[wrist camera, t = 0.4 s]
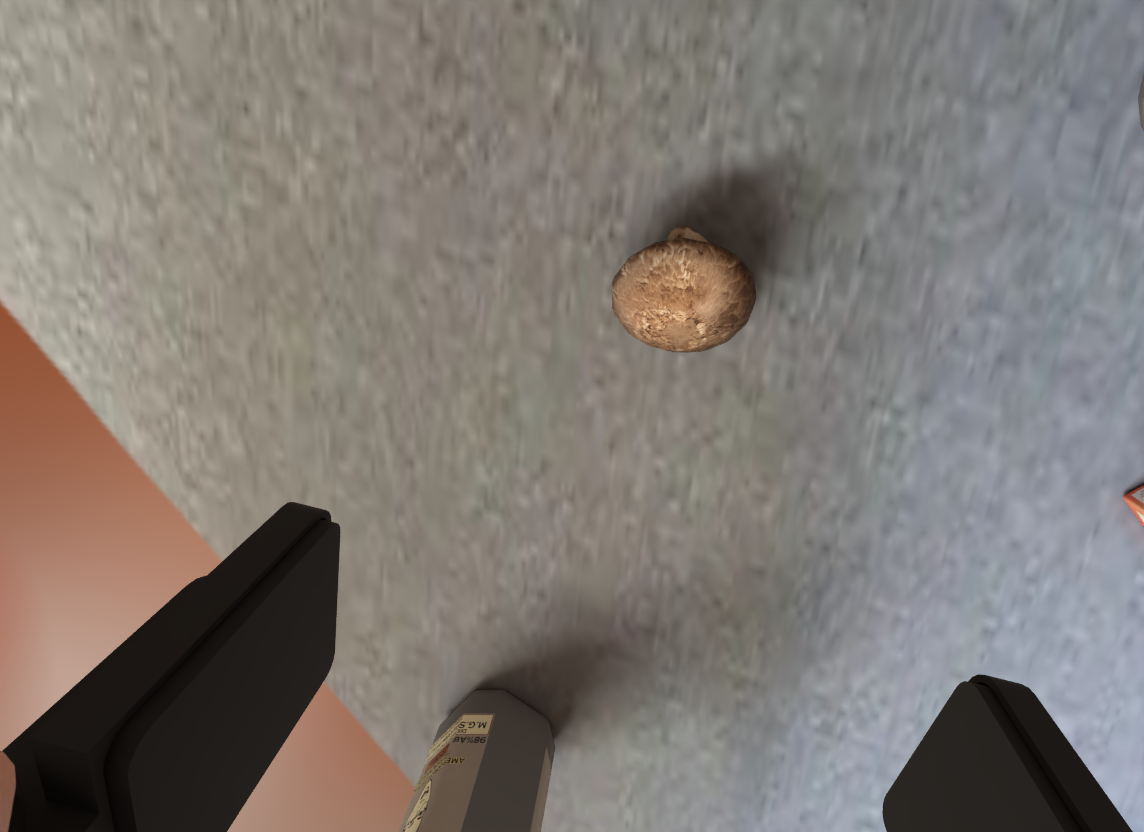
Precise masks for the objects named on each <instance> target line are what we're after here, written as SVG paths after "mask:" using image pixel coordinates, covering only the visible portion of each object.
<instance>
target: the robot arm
mask: <svg viewBox="0 0 1144 832" xmlns="http://www.w3.org/2000/svg"><path fill="white" fill-rule="evenodd" d="M339 549H340V526H339V524H337V523H334V522H331V515H330V513H329V512H328V511H326V510H323V509H319V508H315V507H311V506H307V505H303V504H299V503H295V502H289V503H287V504H285V505H284V506H283V507H281V508H280V509H279V510H278V511H277V512H276V513H275V514H274V515H273V516H272V517H271V518H269V519H268V520H267V521H266V522H265V523H264V524H263V525H262V526H261V527H260V528H259V529H257V530H256V531H255V532H254V533H253V534H252V535H251V536H250V537H249V538H248V539H247V540H245V541H244V542H243V543H242V544H241V545H240V546H239V547H238V548H237V549H236V550H234V551H233V552H232V553H231V554H230V555H229V556H228V557H227V558H226V559H225V560H224V561H222V562H221V563H220V564H219V565H218V566H217V567H216V568H215V569H214V570H213V571H212V572H210V573H209V574H208V575H207V576H204V577H200V578H197V579H195V580H194V581H193V582H191V583H190V584H188V585H187V586H186V587H185V588H184V589H182V590H181V591H180V592H179V593H178V594H177V595H176V596H174V597H173V598H172V599H171V600H170V601H169V602H168V603H167V604H166V605H165V606H163V607H162V608H161V609H160V610H159V611H158V612H157V613H156V614H154V615H153V616H152V617H151V618H150V619H149V620H148V621H147V622H146V623H144V624H143V625H142V626H141V627H140V628H139V629H138V630H137V631H136V632H134V633H133V634H132V635H131V636H130V637H129V638H128V639H127V640H126V641H124V642H123V643H122V644H121V645H120V646H119V647H118V648H117V649H115V650H114V651H113V652H112V653H111V654H110V655H109V656H108V657H107V658H106V659H104V660H103V661H102V662H101V663H100V664H99V665H98V666H96V667H95V668H94V669H93V670H92V671H91V672H90V673H89V674H88V675H86V676H85V677H84V678H83V679H82V680H81V681H80V682H79V683H78V684H76V685H75V686H74V687H73V688H72V689H71V690H70V691H69V692H68V693H66V694H65V695H64V696H63V697H62V698H61V699H60V700H59V701H57V702H56V703H55V704H54V705H53V706H52V707H51V708H50V709H49V710H48V711H46V712H45V713H44V714H43V715H42V716H41V717H40V718H39V719H37V720H36V721H35V722H34V723H33V724H32V725H31V726H30V727H29V728H28V729H26V730H25V731H24V732H23V733H22V734H21V735H20V736H18V737H17V738H16V739H15V740H14V741H13V742H12V743H11V744H10V745H9V746H7V747H6V748H5V749H4V750H3V751H0V832H227V831H228V829H229V827H230V826H231V824H232V823H233V821H234V820H235V818H236V817H237V815H238V814H239V812H240V810H241V809H242V807H243V806H244V804H245V803H246V801H247V799H248V798H249V796H250V795H251V793H252V792H253V790H254V789H255V787H256V785H257V784H258V782H259V781H260V779H261V778H262V776H263V775H264V773H265V772H266V770H267V768H268V767H269V765H270V764H271V762H272V761H273V759H274V757H275V756H276V754H277V753H278V751H279V750H280V748H281V747H282V745H283V744H284V742H285V740H286V739H287V737H288V736H289V734H290V733H291V731H292V730H293V728H294V727H295V725H296V723H297V722H298V720H299V719H300V717H301V716H302V714H303V712H304V711H305V709H306V708H307V706H308V705H309V703H310V702H311V700H312V699H313V697H314V695H315V694H316V692H317V691H318V689H319V688H320V686H321V685H322V683H323V681H324V680H325V678H326V676H327V675H328V673H329V670H330V668H331V665H332V663H333V659H334V654H335V637H336V615H337V593H338V571H339ZM883 820H884V824H885V827H886V830H887V832H1133V831H1132V830H1131V829H1130V827H1129V826H1128V824H1127V823H1126V822H1125V820H1124V819H1123V817H1122V816H1121V815H1120V813H1119V812H1118V810H1117V809H1116V808H1115V806H1114V805H1113V803H1112V802H1111V801H1110V799H1109V798H1108V796H1107V795H1106V794H1105V792H1104V791H1103V789H1102V788H1101V787H1100V785H1099V784H1098V782H1097V781H1096V780H1095V778H1094V777H1093V775H1092V774H1091V772H1090V771H1089V770H1088V768H1087V767H1086V765H1085V764H1084V763H1083V761H1082V760H1081V758H1080V757H1079V756H1078V754H1077V753H1076V751H1075V750H1074V749H1073V747H1072V746H1071V744H1070V743H1069V742H1068V740H1067V739H1066V737H1065V736H1064V735H1063V733H1062V732H1061V730H1060V729H1059V728H1058V726H1057V725H1056V723H1055V722H1054V721H1053V719H1052V718H1051V716H1050V715H1049V714H1048V712H1047V711H1046V709H1045V708H1044V707H1043V705H1042V704H1041V702H1040V701H1039V700H1038V698H1037V697H1036V695H1035V694H1034V693H1033V692H1032V691H1031V690H1030V689H1029V688H1028V687H1026V686H1024V685H1022V684H1019V683H1015V682H1011V681H1007V680H1003V679H999V678H995V677H991V676H987V675H976V676H974V677H972V678H971V679H970V680H969V681H968V682H966V681H964V682H962V683H960V684H959V685H958V686H957V687H956V689H955V690H954V692H953V693H952V695H951V696H950V698H949V700H948V701H947V703H946V704H945V706H944V707H943V709H942V710H941V712H940V713H939V715H938V716H937V718H936V719H935V721H934V722H933V724H932V725H931V727H930V729H929V730H928V732H927V733H926V735H925V736H924V738H923V739H922V741H921V742H920V744H919V745H918V747H917V748H916V750H915V751H914V753H913V755H912V756H911V758H910V759H909V761H908V762H907V764H906V765H905V767H904V768H903V770H902V771H901V773H900V774H899V776H898V777H897V779H896V780H895V782H894V784H893V785H892V787H891V788H890V790H889V791H888V793H887V794H886V796H885V798H884V802H883Z"/></svg>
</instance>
